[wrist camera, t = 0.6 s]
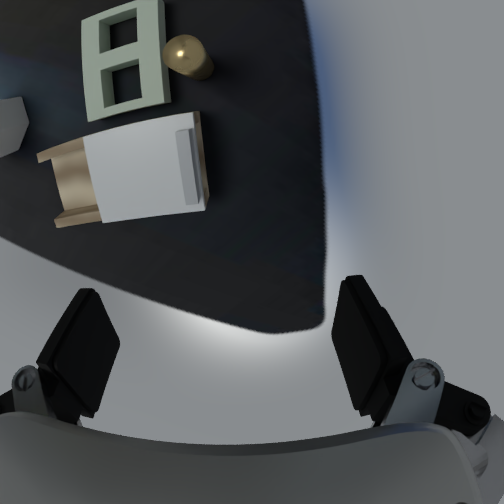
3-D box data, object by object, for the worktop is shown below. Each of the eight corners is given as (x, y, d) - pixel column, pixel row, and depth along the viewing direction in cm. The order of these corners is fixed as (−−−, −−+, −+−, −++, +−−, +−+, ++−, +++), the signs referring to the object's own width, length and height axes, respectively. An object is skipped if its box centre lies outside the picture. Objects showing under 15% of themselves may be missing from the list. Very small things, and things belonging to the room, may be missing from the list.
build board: (93, 25, 19) (81, 20, 16) (164, 2, 19) (157, -6, 16) (100, 119, 26) (88, 122, 23) (171, 102, 26) (164, 102, 23)
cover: (86, 136, 23) (72, 140, 21) (193, 112, 23) (188, 113, 21) (105, 220, 28) (95, 231, 26) (205, 207, 28) (202, 218, 26)
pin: (185, 58, 23) (161, 39, 15) (213, 53, 23) (201, 31, 15) (187, 82, 25) (163, 73, 16) (215, 78, 25) (203, 67, 16)
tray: (53, 146, 26) (36, 153, 23) (199, 110, 27) (194, 112, 23) (70, 215, 32) (56, 228, 28) (209, 195, 32) (205, 207, 28)
